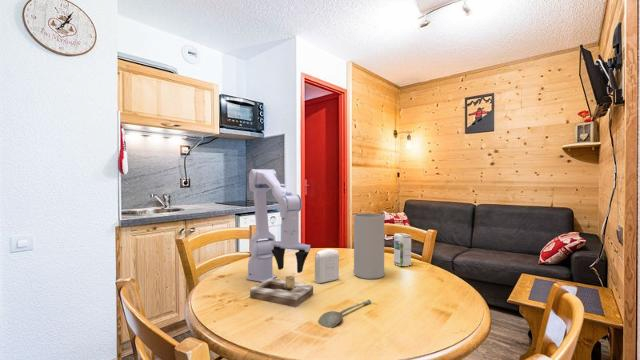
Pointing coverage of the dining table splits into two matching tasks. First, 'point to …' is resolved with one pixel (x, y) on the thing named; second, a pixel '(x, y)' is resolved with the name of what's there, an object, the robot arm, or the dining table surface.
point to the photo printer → (326, 265)
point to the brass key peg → (290, 283)
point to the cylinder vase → (369, 245)
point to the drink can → (402, 249)
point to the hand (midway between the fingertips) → (290, 270)
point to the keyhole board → (278, 299)
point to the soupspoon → (335, 316)
